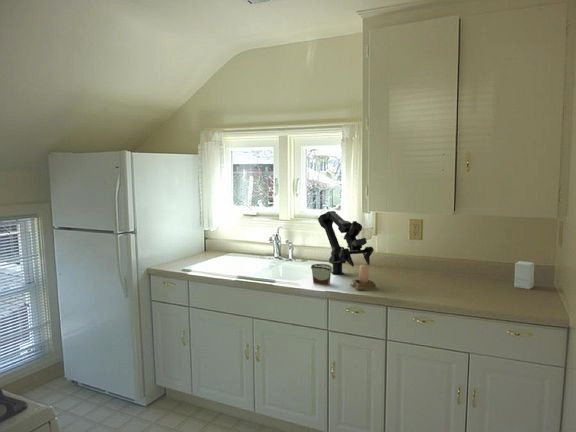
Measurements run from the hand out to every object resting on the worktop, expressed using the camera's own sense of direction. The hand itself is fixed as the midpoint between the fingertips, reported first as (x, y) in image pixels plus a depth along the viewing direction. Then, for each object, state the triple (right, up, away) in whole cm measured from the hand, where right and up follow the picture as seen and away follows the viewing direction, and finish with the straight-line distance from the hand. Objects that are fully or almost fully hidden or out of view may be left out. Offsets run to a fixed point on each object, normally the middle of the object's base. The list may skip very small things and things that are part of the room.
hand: (361, 265), depth 232 cm
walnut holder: (+1, -11, -4) cm, 12 cm away
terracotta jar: (+1, -10, -4) cm, 11 cm away
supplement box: (+83, -10, -7) cm, 84 cm away
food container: (-20, -10, +6) cm, 23 cm away
